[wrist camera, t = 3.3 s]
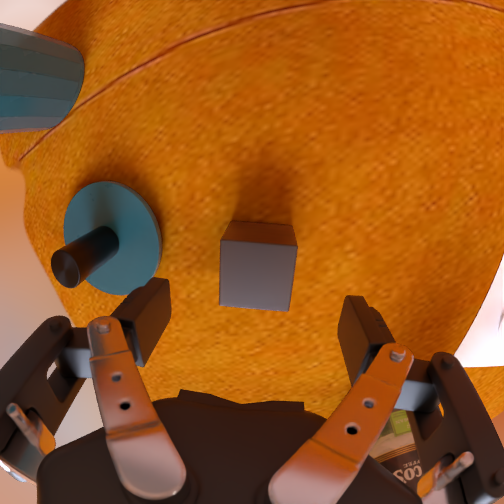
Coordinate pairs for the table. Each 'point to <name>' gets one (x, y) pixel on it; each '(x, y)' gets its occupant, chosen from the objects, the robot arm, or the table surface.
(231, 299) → the block
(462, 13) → the table surface
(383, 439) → the coffee can
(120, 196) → the lid
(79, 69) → the tin
